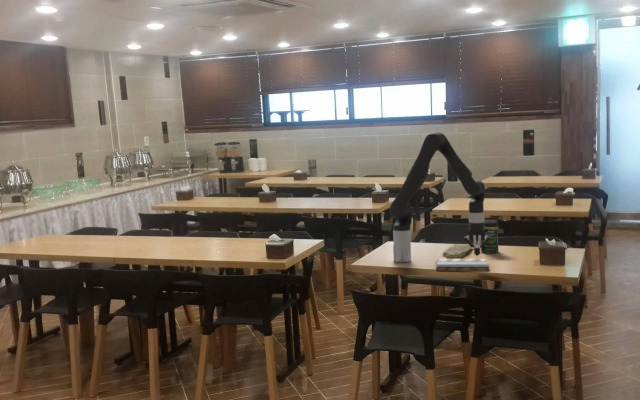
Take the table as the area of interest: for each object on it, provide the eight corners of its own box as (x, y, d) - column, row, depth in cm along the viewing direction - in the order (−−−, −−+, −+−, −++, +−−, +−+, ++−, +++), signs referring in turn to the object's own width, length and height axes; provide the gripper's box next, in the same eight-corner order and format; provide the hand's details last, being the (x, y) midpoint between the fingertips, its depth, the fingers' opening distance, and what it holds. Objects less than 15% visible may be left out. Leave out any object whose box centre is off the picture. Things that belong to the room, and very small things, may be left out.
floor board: (436, 270, 311) (436, 265, 311) (436, 263, 326) (435, 258, 326) (489, 270, 306) (489, 265, 306) (486, 263, 321) (486, 258, 321)
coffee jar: (481, 253, 345) (480, 220, 343) (480, 250, 353) (480, 218, 351) (499, 253, 343) (498, 220, 341) (498, 250, 351) (498, 218, 348)
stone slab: (440, 252, 339) (454, 240, 365) (440, 260, 339) (454, 247, 365) (462, 254, 333) (475, 241, 359) (462, 261, 333) (475, 248, 360)
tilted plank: (437, 266, 311) (437, 264, 311) (437, 263, 319) (437, 261, 319) (488, 266, 307) (488, 264, 307) (486, 263, 314) (486, 261, 314)
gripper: (463, 222, 303) (464, 257, 306) (490, 222, 301) (491, 256, 303) (462, 220, 311) (463, 253, 313) (489, 219, 308) (490, 253, 310)
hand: (477, 255), depth 308 cm, fingers closed
